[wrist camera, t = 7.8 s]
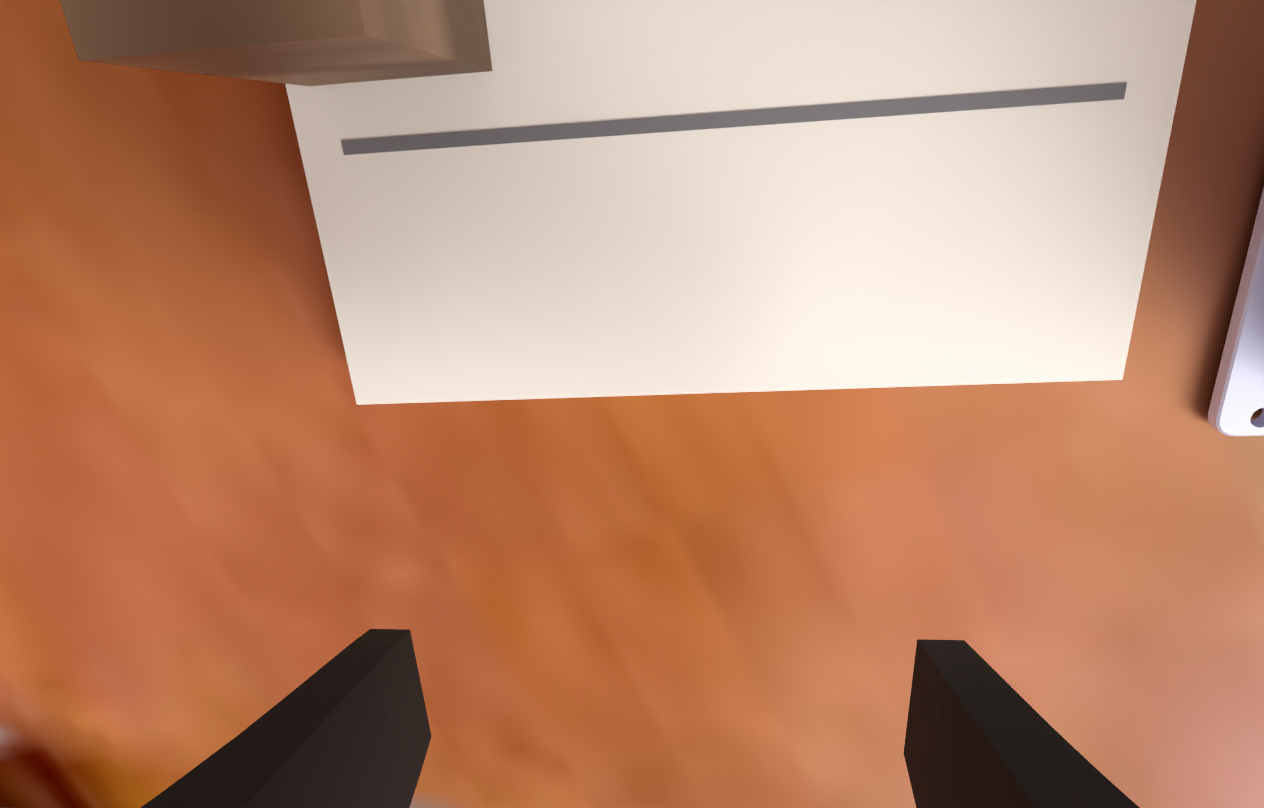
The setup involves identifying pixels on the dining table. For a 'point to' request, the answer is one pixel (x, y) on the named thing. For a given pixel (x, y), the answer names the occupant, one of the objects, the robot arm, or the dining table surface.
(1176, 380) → the dining table surface
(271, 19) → the block
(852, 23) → the board
